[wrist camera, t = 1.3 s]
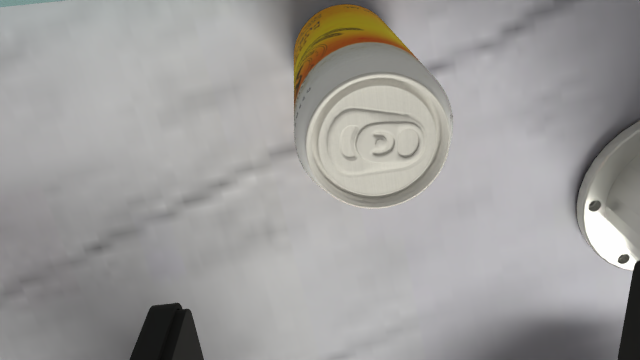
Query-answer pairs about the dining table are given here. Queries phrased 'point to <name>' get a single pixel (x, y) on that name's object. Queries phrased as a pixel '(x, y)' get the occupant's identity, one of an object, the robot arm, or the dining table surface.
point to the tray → (22, 2)
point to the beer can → (366, 110)
